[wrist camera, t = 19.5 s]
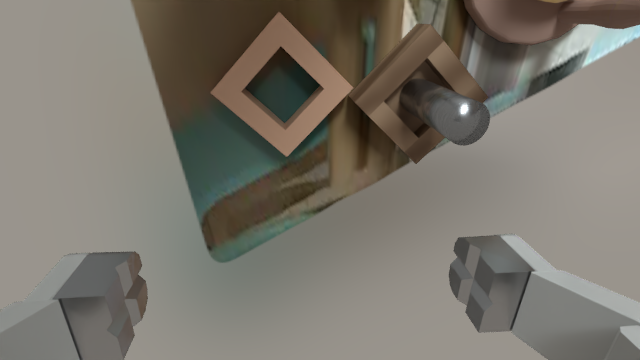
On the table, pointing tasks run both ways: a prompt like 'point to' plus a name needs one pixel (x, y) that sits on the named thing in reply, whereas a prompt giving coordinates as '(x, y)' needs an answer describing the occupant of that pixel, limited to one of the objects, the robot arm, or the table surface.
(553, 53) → the table surface
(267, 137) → the socket collar
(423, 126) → the square peg hole block
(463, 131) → the steel peg
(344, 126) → the table surface
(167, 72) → the table surface
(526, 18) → the hourglass
